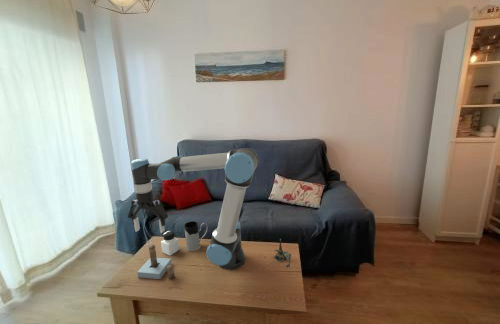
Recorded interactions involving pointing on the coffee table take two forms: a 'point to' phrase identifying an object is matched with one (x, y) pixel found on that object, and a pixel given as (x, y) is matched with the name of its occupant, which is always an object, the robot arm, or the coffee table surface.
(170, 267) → the short pin
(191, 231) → the grey black mug
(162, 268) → the collar plate
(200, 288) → the coffee table surface
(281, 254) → the grey-green irregular piece
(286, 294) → the coffee table surface
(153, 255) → the long pin
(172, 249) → the medicine bottle
